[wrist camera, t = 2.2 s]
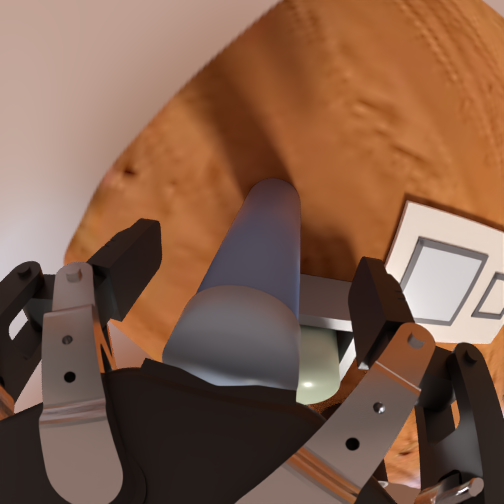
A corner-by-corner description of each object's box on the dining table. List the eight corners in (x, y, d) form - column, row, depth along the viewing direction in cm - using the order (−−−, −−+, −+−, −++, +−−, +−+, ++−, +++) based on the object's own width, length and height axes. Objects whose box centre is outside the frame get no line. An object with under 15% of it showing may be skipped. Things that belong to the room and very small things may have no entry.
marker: (306, 181, 16) (315, 347, 5) (296, 234, 17) (283, 418, 7) (248, 172, 16) (154, 315, 6) (242, 225, 18) (169, 394, 7)
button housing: (362, 284, 18) (373, 324, 15) (334, 349, 22) (336, 388, 18) (263, 267, 19) (254, 305, 15) (252, 337, 22) (243, 375, 19)
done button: (345, 313, 17) (351, 368, 13) (325, 357, 20) (326, 407, 16) (276, 303, 18) (267, 357, 14) (265, 348, 20) (257, 398, 16)
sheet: (541, 247, 14) (544, 250, 13) (488, 341, 19) (490, 344, 19) (406, 199, 15) (409, 202, 14) (355, 331, 21) (356, 335, 20)
